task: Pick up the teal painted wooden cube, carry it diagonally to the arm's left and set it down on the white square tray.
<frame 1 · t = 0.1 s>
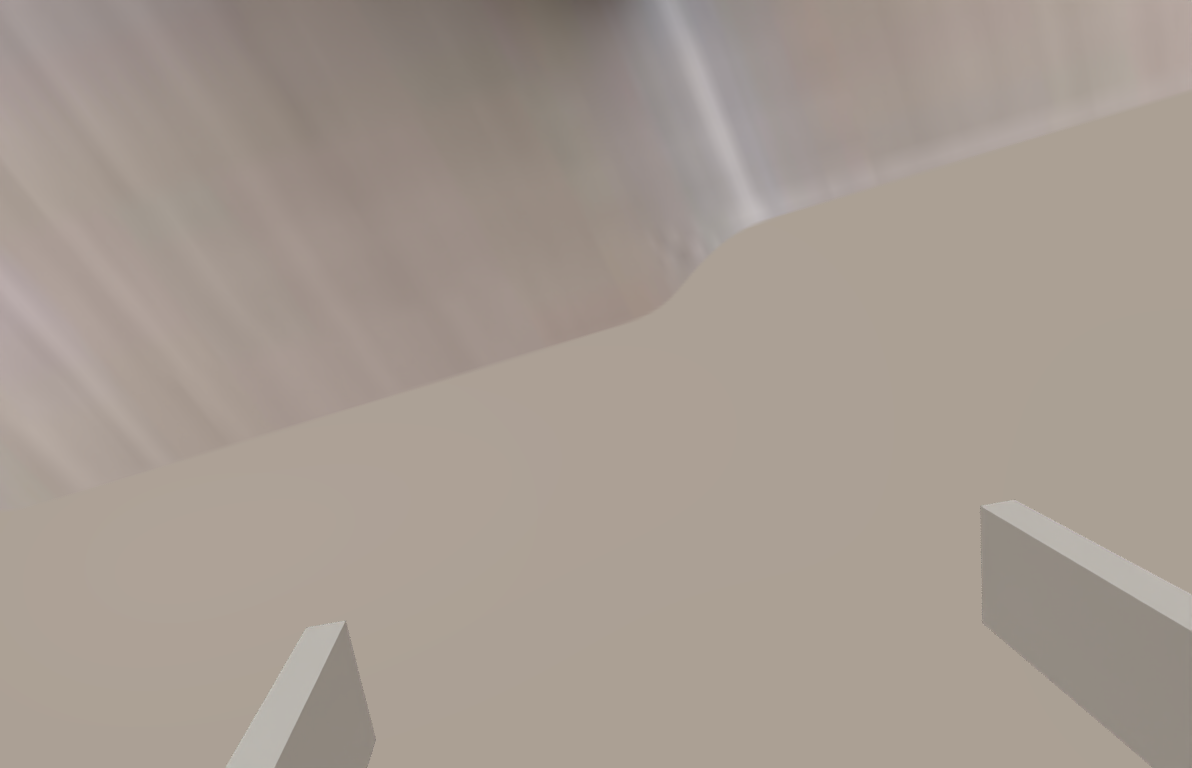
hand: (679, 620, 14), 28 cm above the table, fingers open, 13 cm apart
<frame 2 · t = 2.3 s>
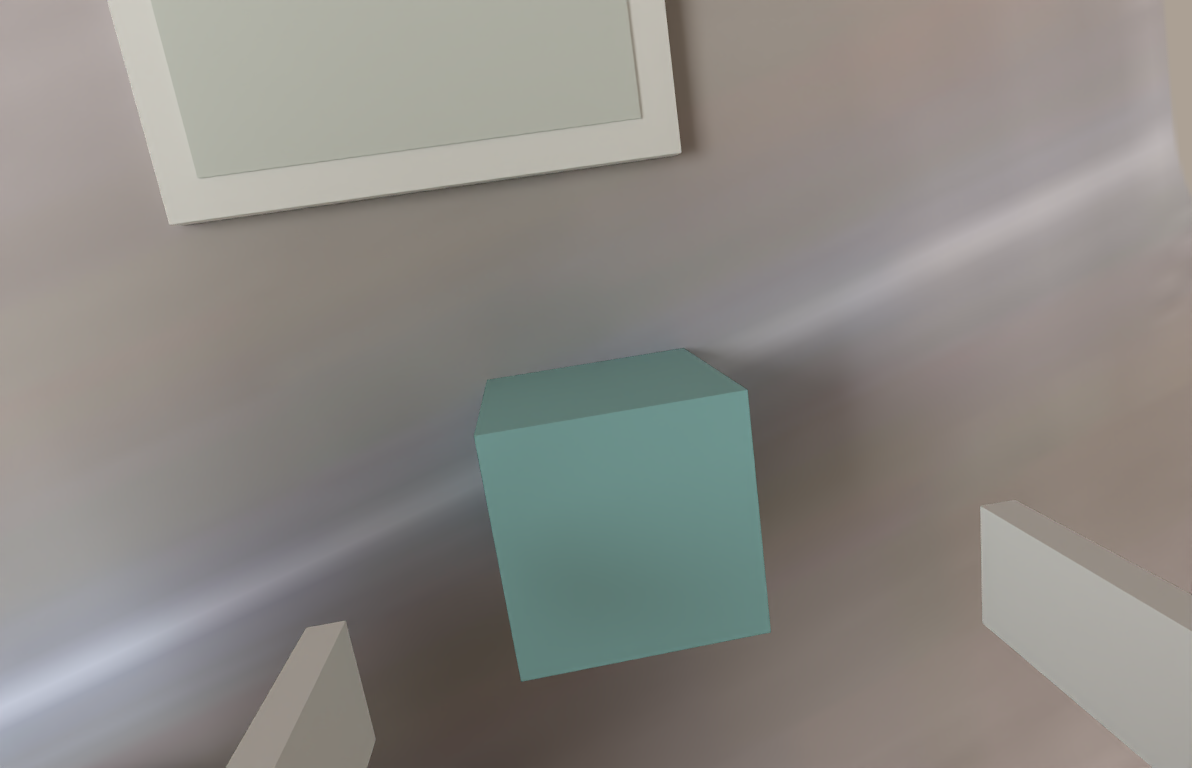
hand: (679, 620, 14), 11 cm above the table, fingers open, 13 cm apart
cube: (600, 457, 24), on the table
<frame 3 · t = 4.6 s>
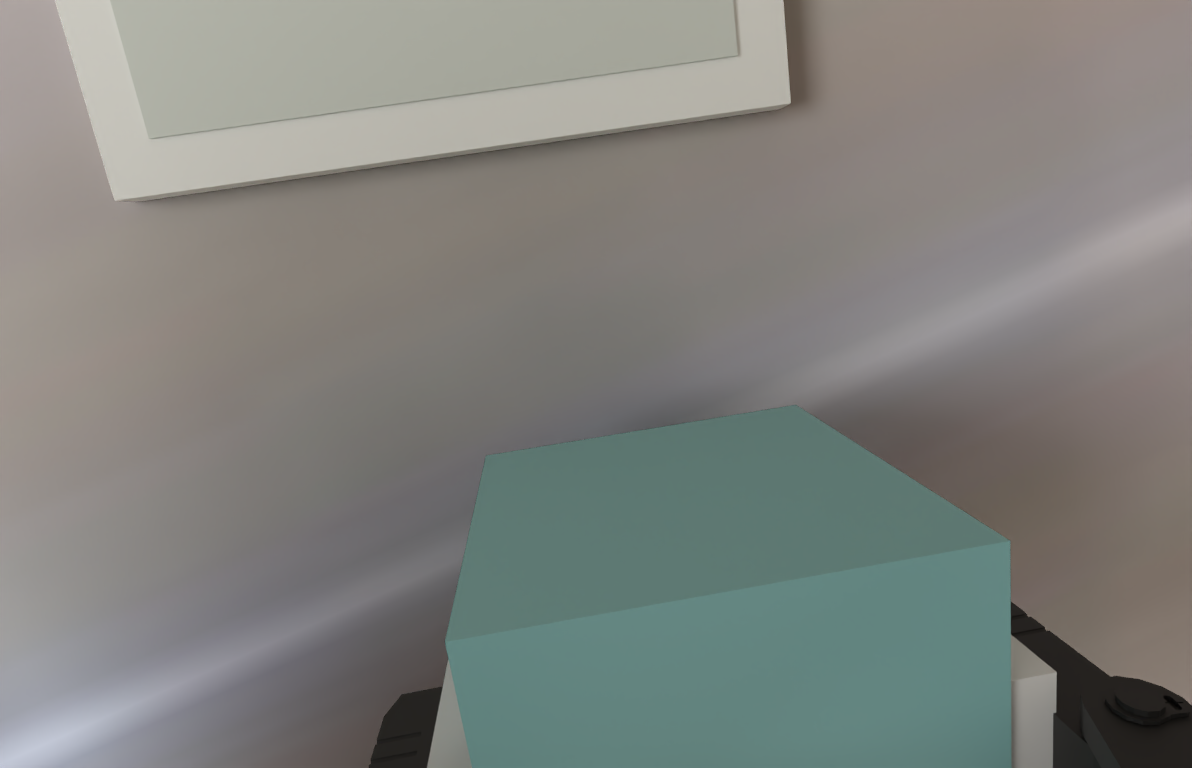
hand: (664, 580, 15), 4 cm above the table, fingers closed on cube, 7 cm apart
cube: (661, 572, 16), point 3 cm above the table, touching gripper
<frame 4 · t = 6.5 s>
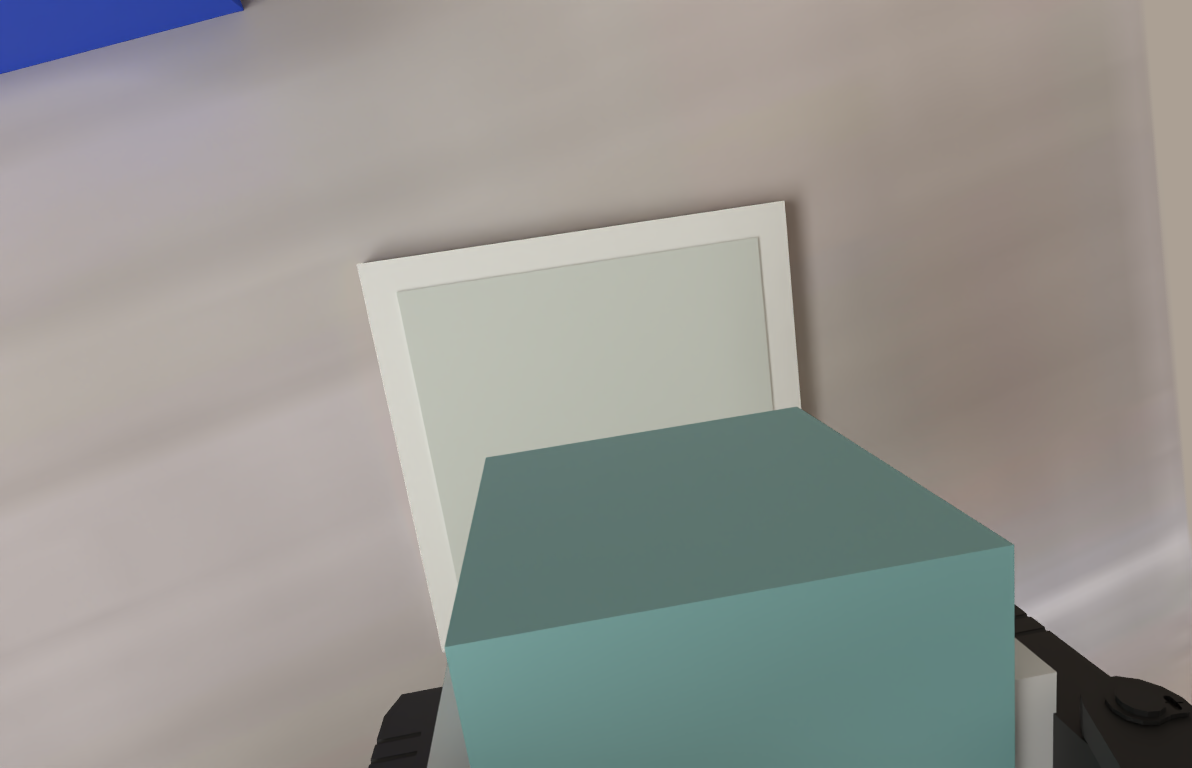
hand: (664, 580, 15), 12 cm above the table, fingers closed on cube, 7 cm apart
white square tray: (603, 431, 27), on the table
cube: (662, 574, 16), point 12 cm above the table, touching gripper
when the fingers open (2 cm above the table, at t = 8.7 s): cube stays where it is, resting on white square tray.
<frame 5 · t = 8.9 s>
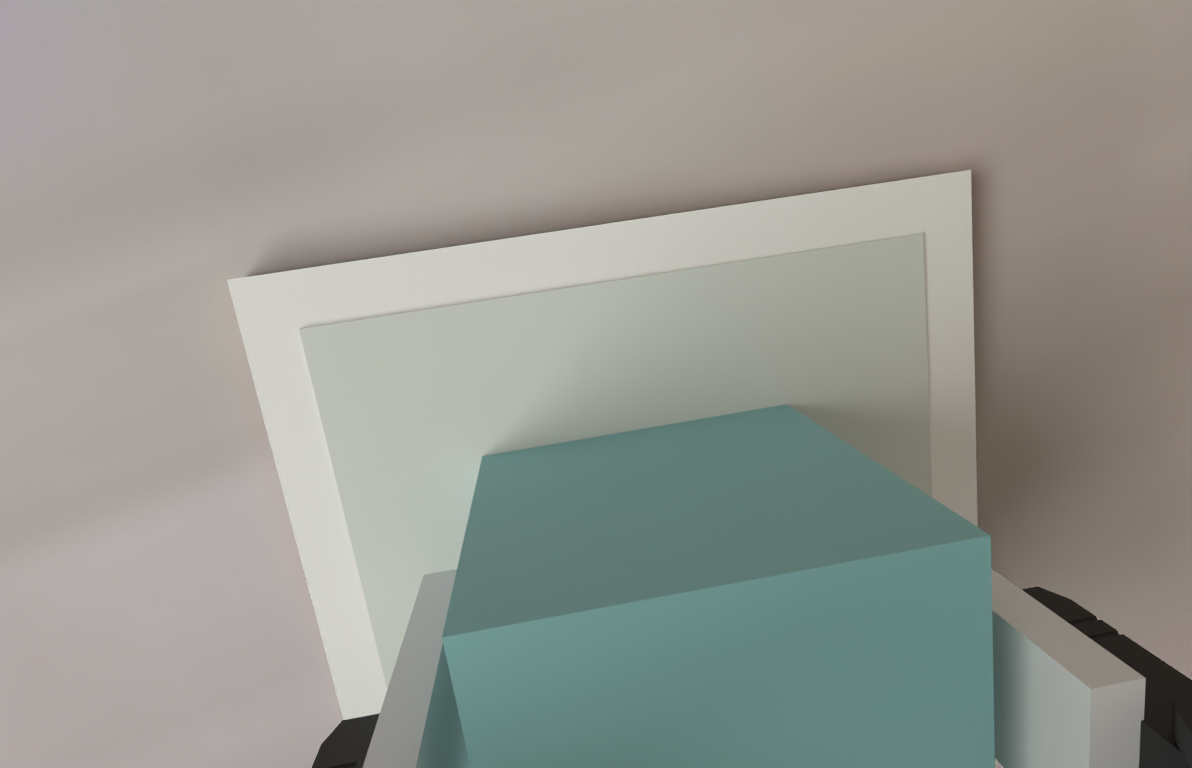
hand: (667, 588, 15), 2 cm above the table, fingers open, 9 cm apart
white square tray: (652, 549, 17), on the table
cube: (656, 570, 16), point 1 cm above the table, touching white square tray
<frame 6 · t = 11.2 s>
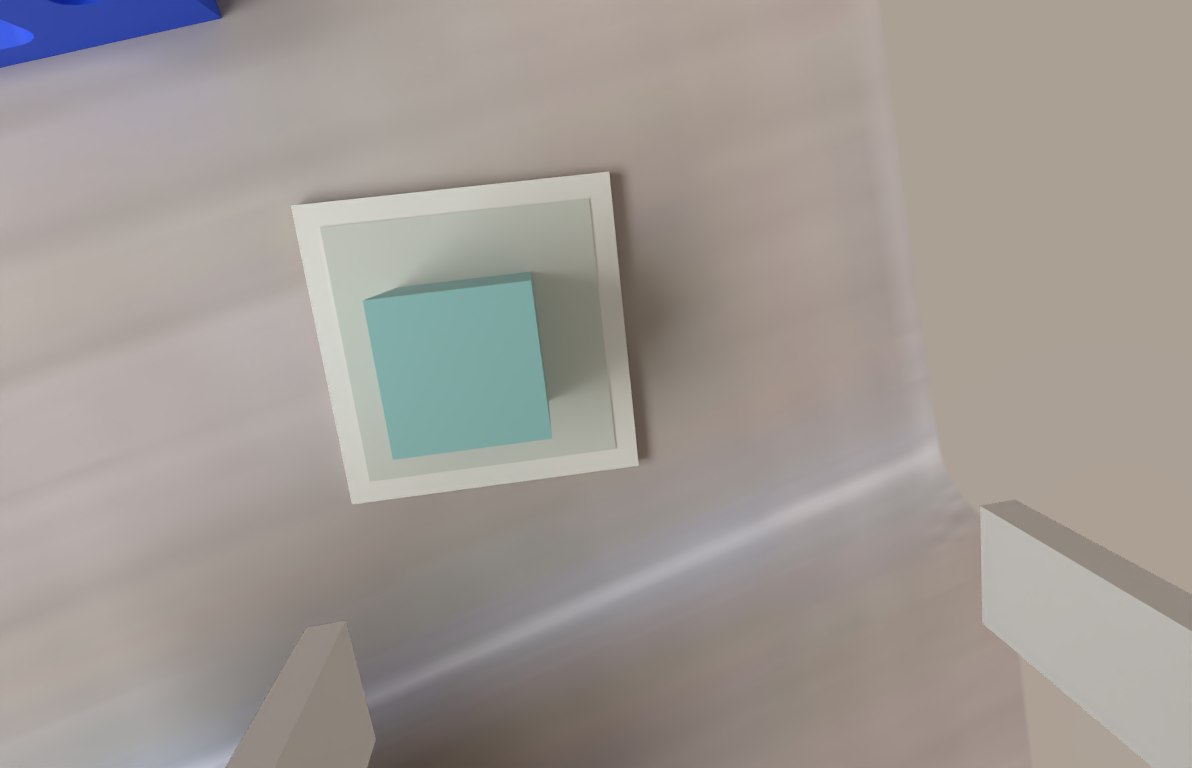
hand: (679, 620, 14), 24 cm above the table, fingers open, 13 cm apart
white square tray: (477, 341, 37), on the table
cube: (474, 345, 36), point 1 cm above the table, touching white square tray
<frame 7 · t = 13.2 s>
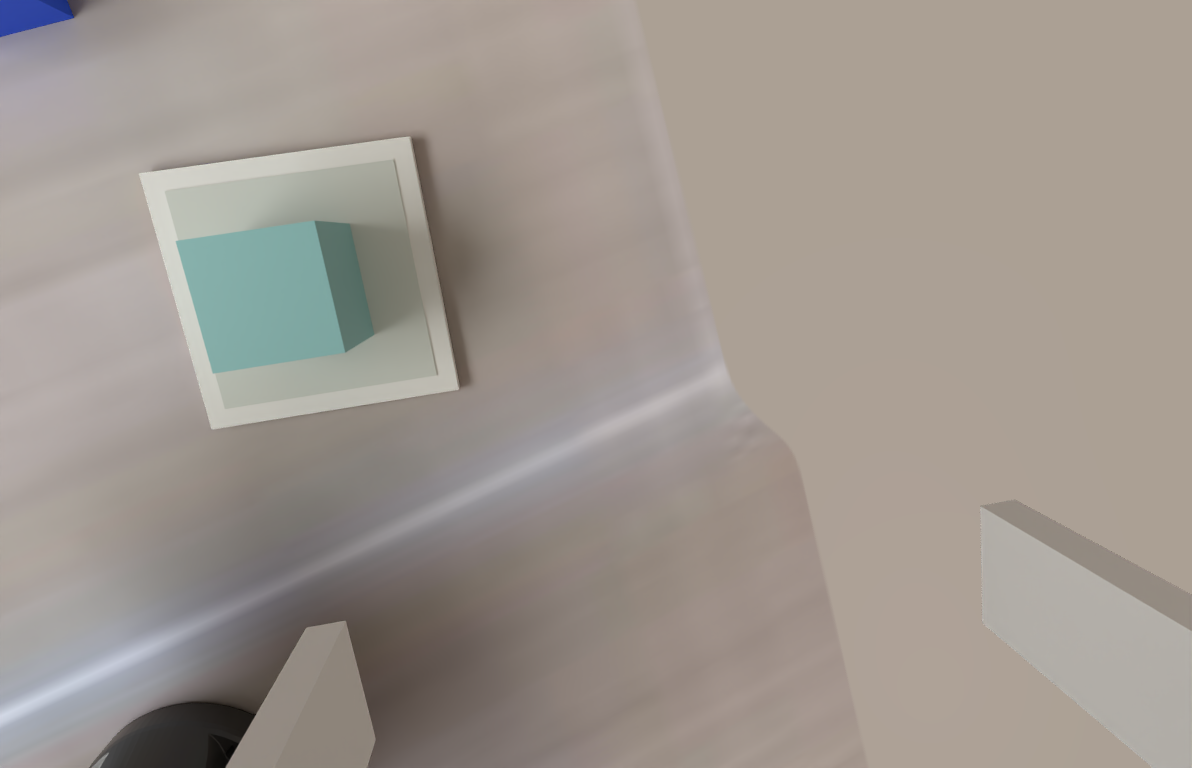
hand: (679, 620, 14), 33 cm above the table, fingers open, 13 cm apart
white square tray: (311, 286, 43), on the table
cube: (306, 288, 42), point 1 cm above the table, touching white square tray
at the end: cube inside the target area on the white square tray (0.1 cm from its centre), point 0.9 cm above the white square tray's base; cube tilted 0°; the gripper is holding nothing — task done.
